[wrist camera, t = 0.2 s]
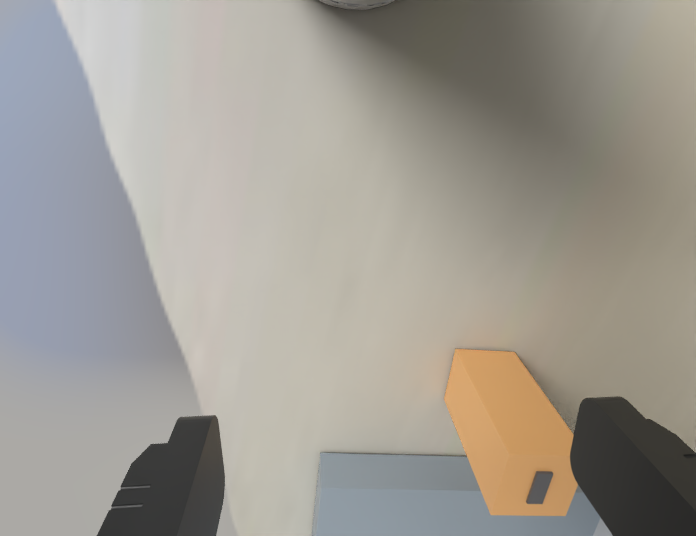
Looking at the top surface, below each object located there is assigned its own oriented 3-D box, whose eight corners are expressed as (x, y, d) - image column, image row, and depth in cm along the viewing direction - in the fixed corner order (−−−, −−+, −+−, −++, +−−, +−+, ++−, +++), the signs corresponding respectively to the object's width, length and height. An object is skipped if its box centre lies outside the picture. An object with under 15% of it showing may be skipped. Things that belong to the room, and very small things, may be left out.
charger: (455, 348, 30) (510, 456, 22) (514, 351, 31) (590, 459, 22) (444, 399, 32) (491, 517, 23) (500, 401, 32) (567, 518, 24)
